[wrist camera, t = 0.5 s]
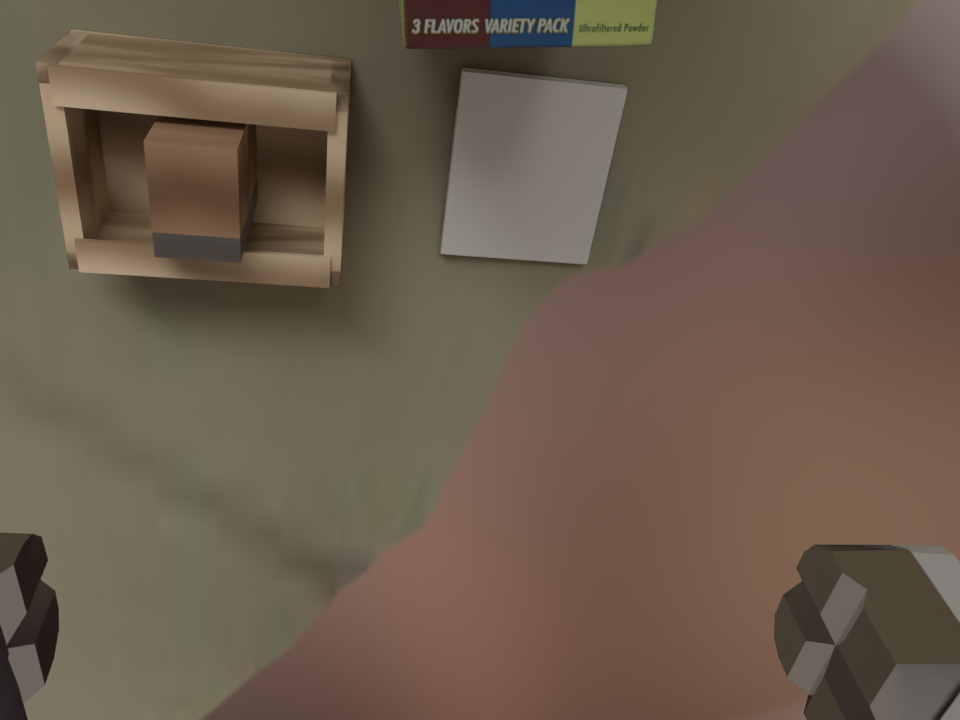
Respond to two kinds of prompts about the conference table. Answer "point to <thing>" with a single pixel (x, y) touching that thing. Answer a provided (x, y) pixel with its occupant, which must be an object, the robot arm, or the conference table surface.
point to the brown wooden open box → (206, 96)
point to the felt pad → (529, 165)
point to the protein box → (526, 23)
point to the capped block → (201, 187)
